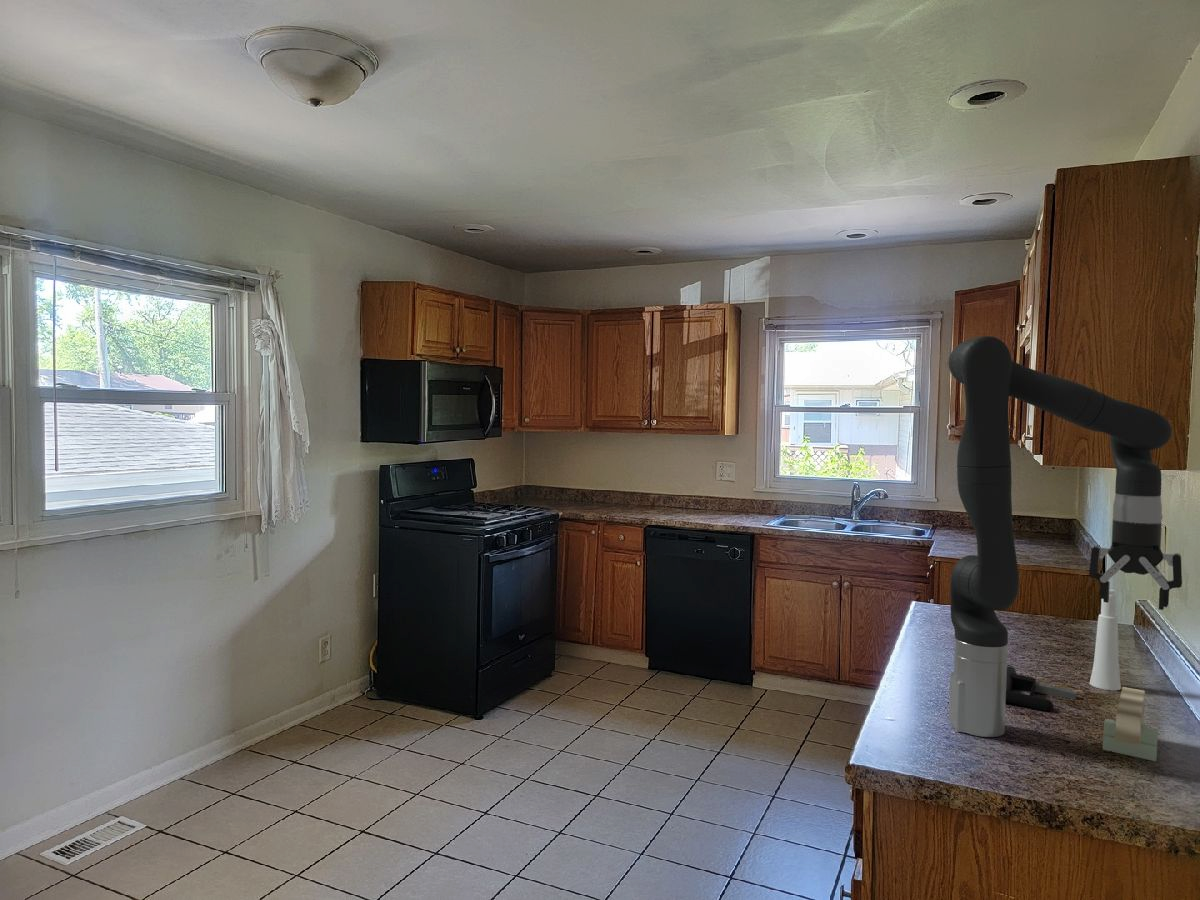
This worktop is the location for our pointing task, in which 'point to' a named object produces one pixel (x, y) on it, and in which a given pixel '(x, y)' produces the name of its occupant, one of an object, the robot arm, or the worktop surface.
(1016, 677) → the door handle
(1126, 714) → the bar
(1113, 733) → the ridge
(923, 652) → the worktop surface
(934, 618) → the worktop surface
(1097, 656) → the cosmetic bottle
